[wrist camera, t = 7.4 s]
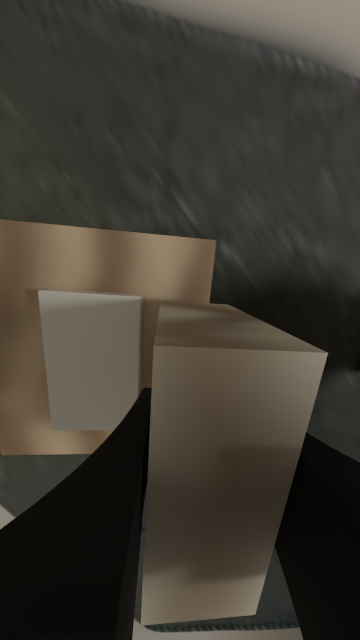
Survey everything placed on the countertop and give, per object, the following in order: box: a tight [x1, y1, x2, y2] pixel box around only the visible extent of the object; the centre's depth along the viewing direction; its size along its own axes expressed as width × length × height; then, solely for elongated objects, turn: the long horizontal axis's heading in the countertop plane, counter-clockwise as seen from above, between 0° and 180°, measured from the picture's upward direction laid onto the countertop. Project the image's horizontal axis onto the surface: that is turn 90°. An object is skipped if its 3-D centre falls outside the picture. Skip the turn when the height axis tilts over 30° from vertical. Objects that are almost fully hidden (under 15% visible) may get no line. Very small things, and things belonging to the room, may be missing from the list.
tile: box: [38, 288, 143, 431], centre depth 13 cm, size 2×10×6 cm
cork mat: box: [0, 219, 216, 455], centre depth 15 cm, size 16×18×1 cm
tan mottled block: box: [141, 300, 328, 625], centre depth 9 cm, size 4×10×7 cm, turn 176°
